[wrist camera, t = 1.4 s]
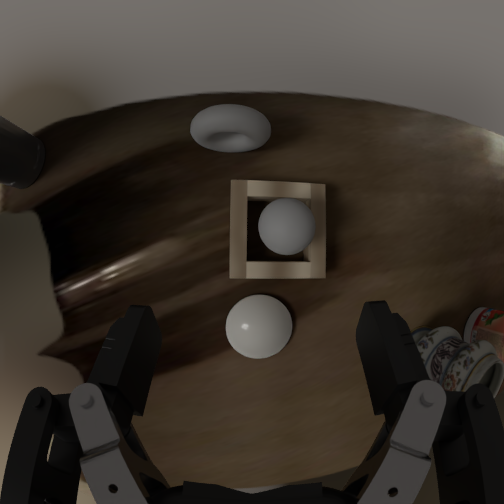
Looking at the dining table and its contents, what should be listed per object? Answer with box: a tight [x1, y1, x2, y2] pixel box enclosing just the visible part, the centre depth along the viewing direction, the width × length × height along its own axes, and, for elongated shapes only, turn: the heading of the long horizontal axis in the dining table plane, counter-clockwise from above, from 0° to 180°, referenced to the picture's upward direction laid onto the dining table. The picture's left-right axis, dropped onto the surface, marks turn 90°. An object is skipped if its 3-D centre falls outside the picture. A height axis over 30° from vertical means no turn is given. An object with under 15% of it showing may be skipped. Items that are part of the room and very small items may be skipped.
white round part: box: [226, 294, 292, 358], centre depth 37 cm, size 9×9×1 cm
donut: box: [190, 104, 271, 152], centre depth 32 cm, size 10×4×10 cm, turn 88°
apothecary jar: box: [411, 326, 504, 398], centre depth 31 cm, size 12×12×18 cm
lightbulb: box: [258, 198, 316, 255], centre depth 32 cm, size 6×6×11 cm
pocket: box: [230, 180, 326, 278], centre depth 36 cm, size 12×12×4 cm
